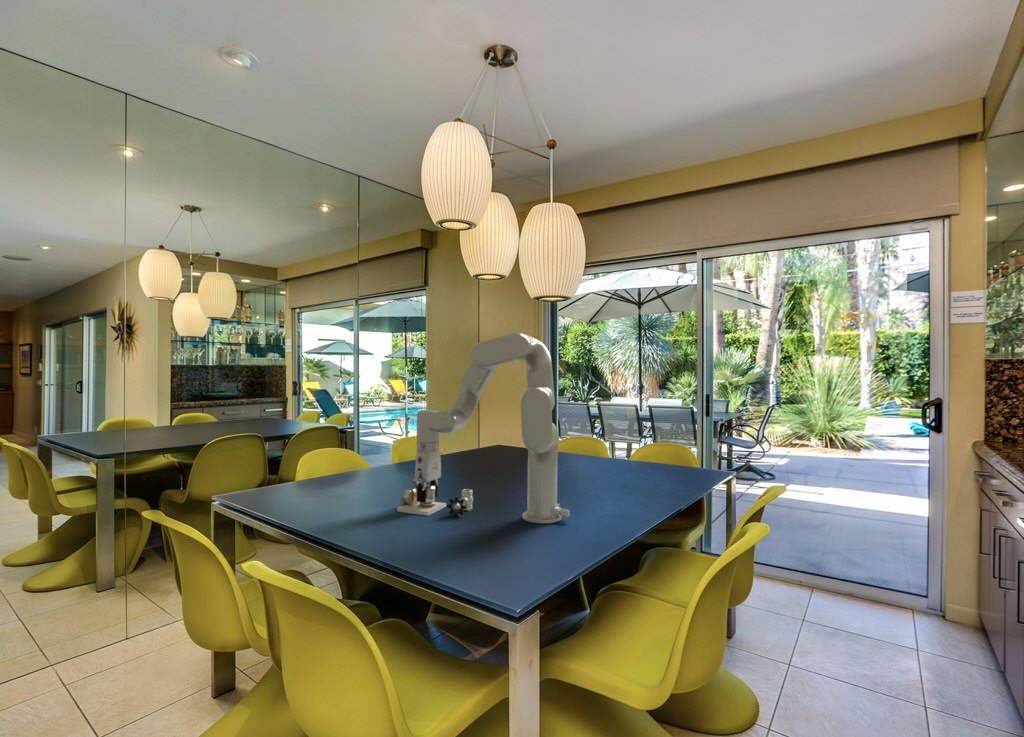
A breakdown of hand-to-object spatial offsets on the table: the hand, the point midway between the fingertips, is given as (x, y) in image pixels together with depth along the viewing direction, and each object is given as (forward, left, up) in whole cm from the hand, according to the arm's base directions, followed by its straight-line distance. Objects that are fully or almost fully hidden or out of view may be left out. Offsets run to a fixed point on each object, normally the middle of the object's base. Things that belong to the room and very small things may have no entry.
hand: (427, 498), depth 170 cm
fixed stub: (+7, 0, -4) cm, 8 cm away
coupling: (0, 0, -2) cm, 2 cm away
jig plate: (+2, 0, -4) cm, 4 cm away
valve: (-12, -2, -4) cm, 13 cm away
